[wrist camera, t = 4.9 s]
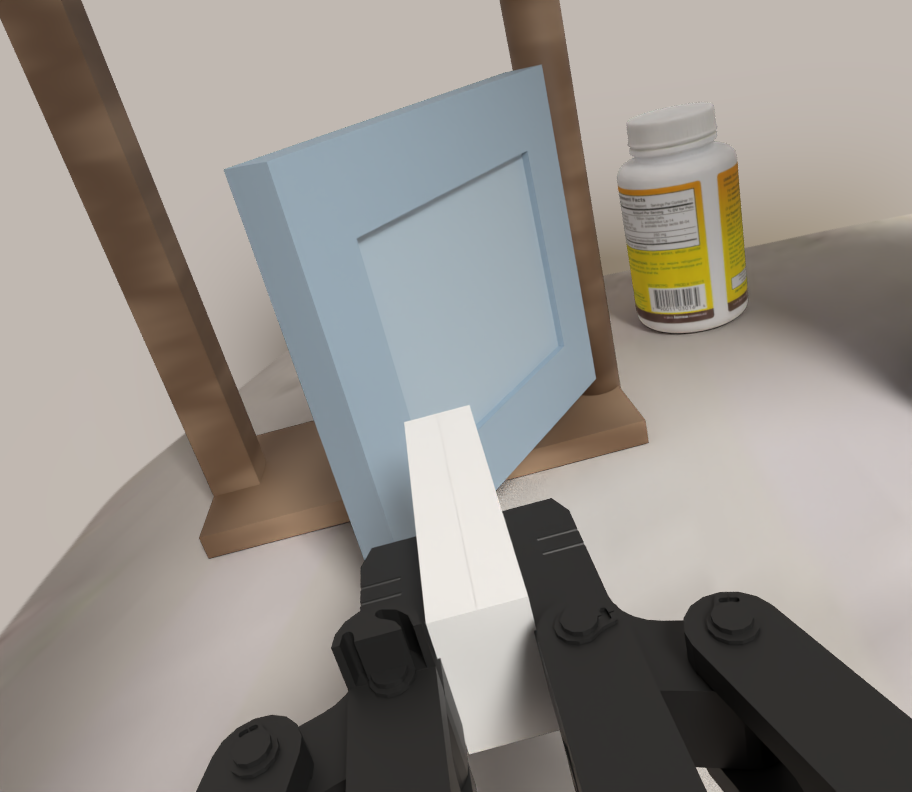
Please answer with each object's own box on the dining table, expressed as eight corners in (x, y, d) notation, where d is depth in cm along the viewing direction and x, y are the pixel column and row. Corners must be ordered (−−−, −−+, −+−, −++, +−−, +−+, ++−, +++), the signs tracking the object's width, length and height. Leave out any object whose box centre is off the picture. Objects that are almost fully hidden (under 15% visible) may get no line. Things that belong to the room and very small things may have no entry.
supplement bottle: (716, 287, 41) (698, 95, 37) (771, 316, 36) (757, 97, 32) (621, 314, 41) (592, 124, 37) (663, 347, 36) (635, 131, 32)
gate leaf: (563, 376, 31) (504, 72, 26) (596, 378, 30) (541, 64, 25) (370, 576, 22) (223, 169, 17) (409, 586, 21) (266, 161, 16)
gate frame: (596, 365, 36) (502, -181, 27) (653, 441, 29) (552, -272, 20) (241, 459, 36) (26, -55, 27) (208, 558, 29) (-101, -99, 20)
